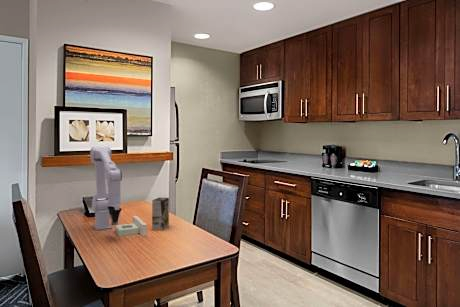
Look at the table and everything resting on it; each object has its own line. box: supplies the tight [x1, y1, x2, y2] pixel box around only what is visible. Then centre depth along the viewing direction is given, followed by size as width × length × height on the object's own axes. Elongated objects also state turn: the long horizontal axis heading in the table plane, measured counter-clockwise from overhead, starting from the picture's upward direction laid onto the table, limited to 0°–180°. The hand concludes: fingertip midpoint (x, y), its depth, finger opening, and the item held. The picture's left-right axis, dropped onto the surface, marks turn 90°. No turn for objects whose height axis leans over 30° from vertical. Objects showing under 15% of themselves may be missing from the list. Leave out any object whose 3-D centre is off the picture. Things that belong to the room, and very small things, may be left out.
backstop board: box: [132, 215, 148, 237], centre depth 174 cm, size 20×2×6 cm, turn 30°
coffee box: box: [151, 197, 170, 231], centre depth 181 cm, size 9×6×16 cm
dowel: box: [110, 215, 119, 226], centre depth 162 cm, size 3×3×6 cm
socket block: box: [114, 222, 140, 237], centre depth 172 cm, size 10×10×3 cm
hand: (114, 221), depth 162 cm, fingers closed on dowel, 3 cm apart
